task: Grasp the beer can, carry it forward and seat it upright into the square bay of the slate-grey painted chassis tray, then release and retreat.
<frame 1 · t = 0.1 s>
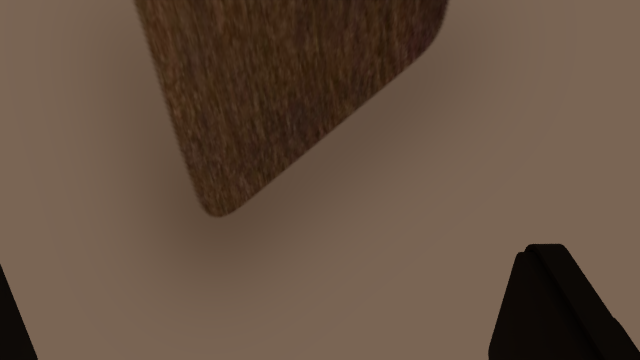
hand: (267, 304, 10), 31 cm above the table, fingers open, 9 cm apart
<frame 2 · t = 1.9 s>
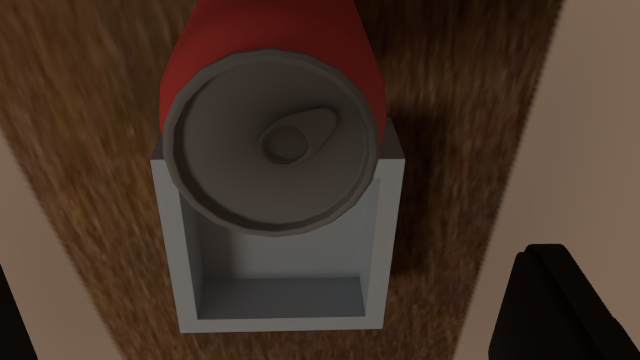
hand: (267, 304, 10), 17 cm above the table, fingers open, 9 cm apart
beer can: (279, 14, 24), on the table
chassis tray: (281, 206, 29), on the table
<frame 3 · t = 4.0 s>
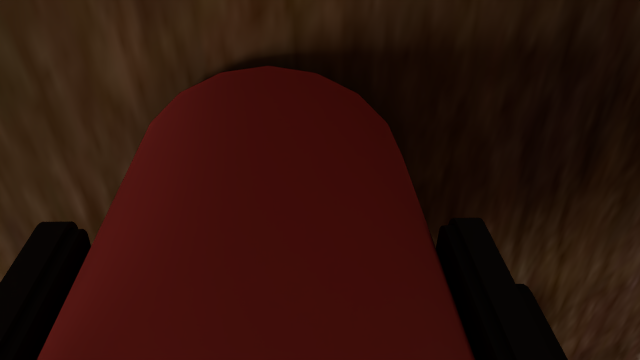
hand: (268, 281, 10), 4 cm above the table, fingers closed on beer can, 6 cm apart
beer can: (273, 175, 14), on the table, touching gripper
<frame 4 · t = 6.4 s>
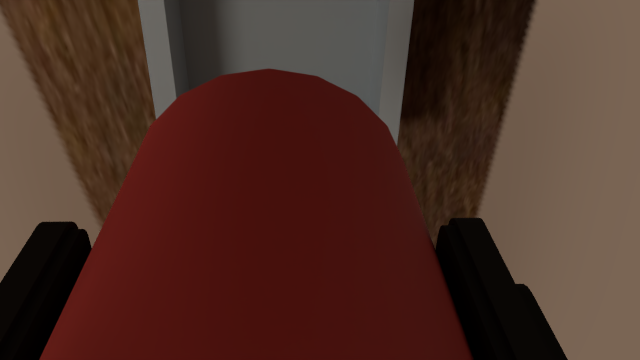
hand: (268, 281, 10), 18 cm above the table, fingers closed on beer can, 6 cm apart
beer can: (273, 177, 14), point 14 cm above the table, touching gripper
chassis tray: (279, 19, 26), on the table
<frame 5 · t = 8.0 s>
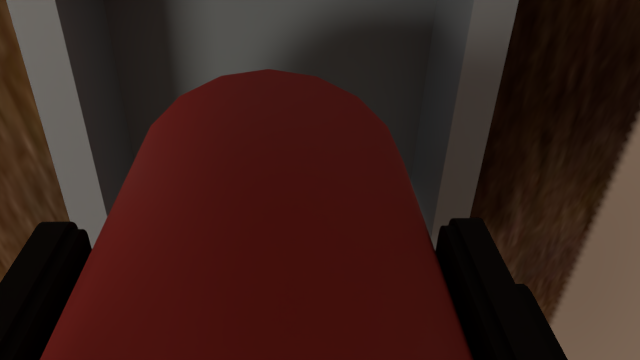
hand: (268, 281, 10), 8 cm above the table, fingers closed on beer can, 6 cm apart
beer can: (273, 178, 14), point 4 cm above the table, touching gripper
chassis tray: (275, 103, 17), on the table
when the fingers open (7 cm above the table, at t = 9.3 s): beer can drops 2 cm, resting on chassis tray.
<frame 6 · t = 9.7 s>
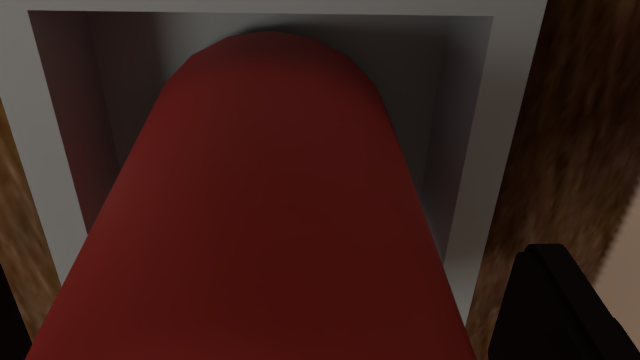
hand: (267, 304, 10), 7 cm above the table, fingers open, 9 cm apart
beer can: (273, 135, 15), point 1 cm above the table, touching chassis tray
chassis tray: (275, 126, 16), on the table
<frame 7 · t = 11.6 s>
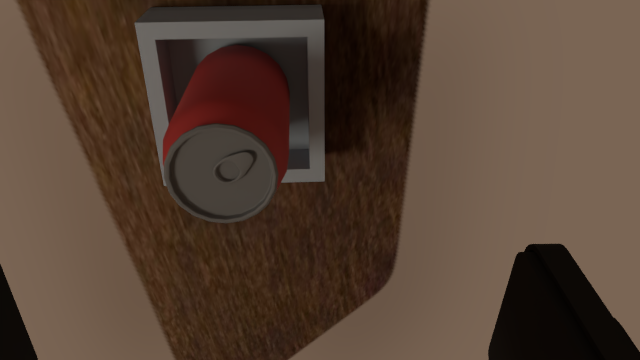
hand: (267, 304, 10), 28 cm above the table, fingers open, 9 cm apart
beer can: (241, 89, 36), point 1 cm above the table, touching chassis tray
chassis tray: (243, 86, 37), on the table
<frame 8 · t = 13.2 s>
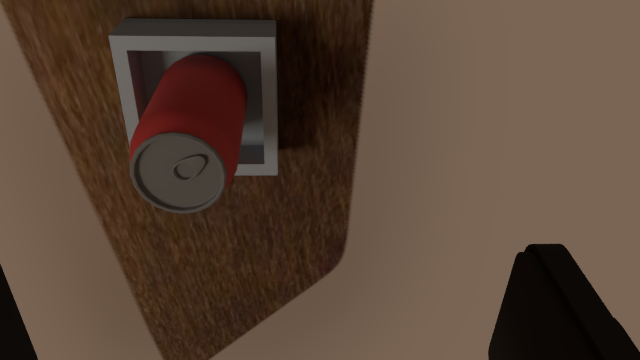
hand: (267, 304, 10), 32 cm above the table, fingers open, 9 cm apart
beer can: (205, 91, 41), point 1 cm above the table, touching chassis tray
chassis tray: (207, 89, 42), on the table
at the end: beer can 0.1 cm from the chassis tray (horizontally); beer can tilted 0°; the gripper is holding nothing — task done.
